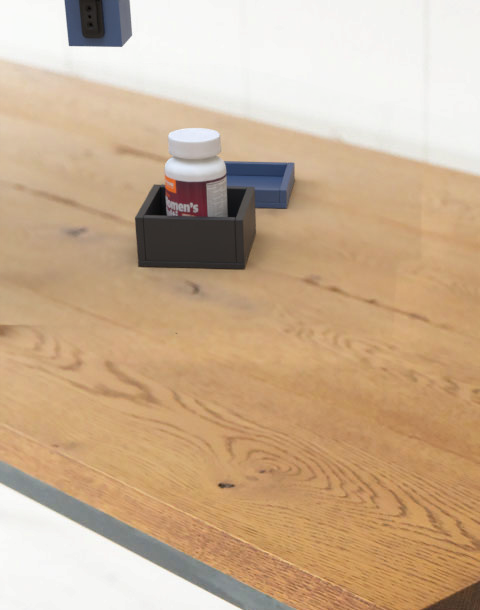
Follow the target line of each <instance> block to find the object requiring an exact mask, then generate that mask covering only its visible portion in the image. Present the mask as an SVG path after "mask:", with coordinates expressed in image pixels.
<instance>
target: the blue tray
mask: <svg viewBox="0 0 480 610" xmlns="http://www.w3.org/2000/svg"><path fill="white" fill-rule="evenodd" d="M223 161H224V163H225V165H226V180H227V186H242V187H255V209H256V208H257V209H287V208H288V204H289V202H290V198H291V194H292V190H293V187H294V184H295V179H296V178H295V174H296V173H295V170H296V169H295V162H292V161H291V162H288V161H287V162H283V161H281V162H279V161H243V160H242V161H238V160H237V161H236V160H223Z"/></svg>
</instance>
